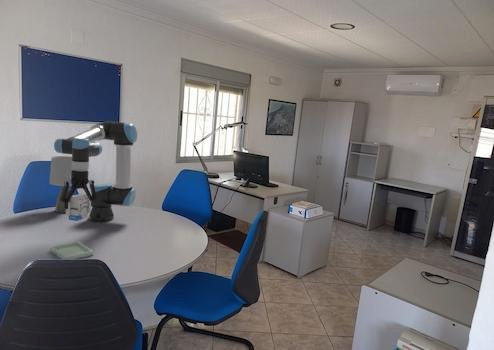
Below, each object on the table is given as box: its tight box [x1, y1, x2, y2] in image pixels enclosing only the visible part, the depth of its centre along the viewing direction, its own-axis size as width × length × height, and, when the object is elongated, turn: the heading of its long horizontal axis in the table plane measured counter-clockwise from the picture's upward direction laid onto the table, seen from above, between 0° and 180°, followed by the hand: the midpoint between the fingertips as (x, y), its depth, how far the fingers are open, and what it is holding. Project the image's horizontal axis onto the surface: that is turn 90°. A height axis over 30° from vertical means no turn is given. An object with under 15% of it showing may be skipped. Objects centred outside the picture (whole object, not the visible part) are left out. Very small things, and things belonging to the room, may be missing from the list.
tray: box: [50, 241, 94, 260], centre depth 166 cm, size 13×16×2 cm
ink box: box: [68, 193, 89, 222], centre depth 168 cm, size 9×5×12 cm, turn 168°
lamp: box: [48, 155, 73, 214], centre depth 229 cm, size 19×19×37 cm
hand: (78, 213), depth 168 cm, fingers closed on ink box, 9 cm apart
